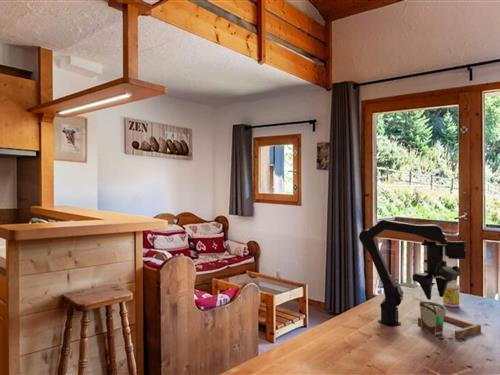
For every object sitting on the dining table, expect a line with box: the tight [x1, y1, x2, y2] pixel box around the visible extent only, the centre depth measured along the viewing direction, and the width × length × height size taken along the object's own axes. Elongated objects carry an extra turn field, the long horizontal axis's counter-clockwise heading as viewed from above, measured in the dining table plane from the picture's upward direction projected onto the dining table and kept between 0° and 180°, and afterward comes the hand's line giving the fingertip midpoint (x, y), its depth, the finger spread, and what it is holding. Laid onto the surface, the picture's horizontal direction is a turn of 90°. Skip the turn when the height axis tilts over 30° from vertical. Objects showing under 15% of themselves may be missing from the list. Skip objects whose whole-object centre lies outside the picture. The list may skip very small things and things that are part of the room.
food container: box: [418, 300, 447, 337], centre depth 142 cm, size 12×6×10 cm, turn 5°
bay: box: [417, 314, 482, 339], centre depth 146 cm, size 14×17×2 cm
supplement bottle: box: [442, 279, 460, 308], centre depth 173 cm, size 7×7×13 cm
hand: (435, 298), depth 142 cm, fingers open, 7 cm apart
